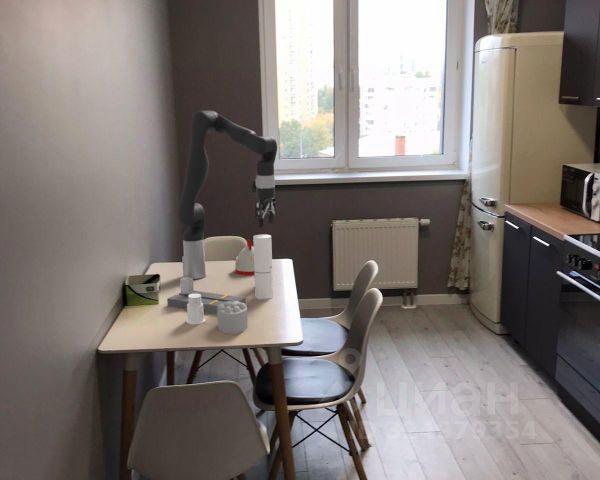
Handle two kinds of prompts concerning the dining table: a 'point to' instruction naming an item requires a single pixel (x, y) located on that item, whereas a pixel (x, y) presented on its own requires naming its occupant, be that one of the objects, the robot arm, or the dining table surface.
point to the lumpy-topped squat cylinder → (232, 317)
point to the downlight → (195, 309)
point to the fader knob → (186, 286)
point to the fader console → (204, 300)
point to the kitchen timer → (245, 261)
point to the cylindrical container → (263, 266)
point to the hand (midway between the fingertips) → (266, 225)
